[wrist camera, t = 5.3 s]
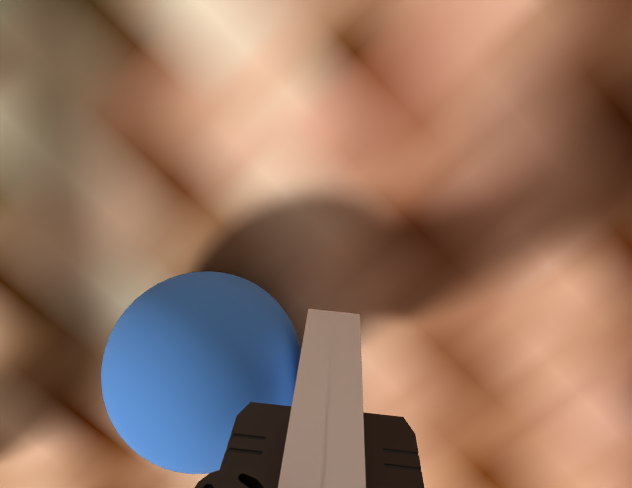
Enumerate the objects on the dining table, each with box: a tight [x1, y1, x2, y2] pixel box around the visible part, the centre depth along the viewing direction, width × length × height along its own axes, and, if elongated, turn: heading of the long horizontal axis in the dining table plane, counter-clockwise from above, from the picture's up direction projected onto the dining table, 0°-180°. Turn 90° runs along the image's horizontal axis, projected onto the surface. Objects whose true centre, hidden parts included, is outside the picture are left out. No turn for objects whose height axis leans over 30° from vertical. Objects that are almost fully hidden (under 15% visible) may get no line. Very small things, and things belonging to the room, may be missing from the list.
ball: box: [101, 271, 301, 474], centre depth 15 cm, size 6×6×6 cm
